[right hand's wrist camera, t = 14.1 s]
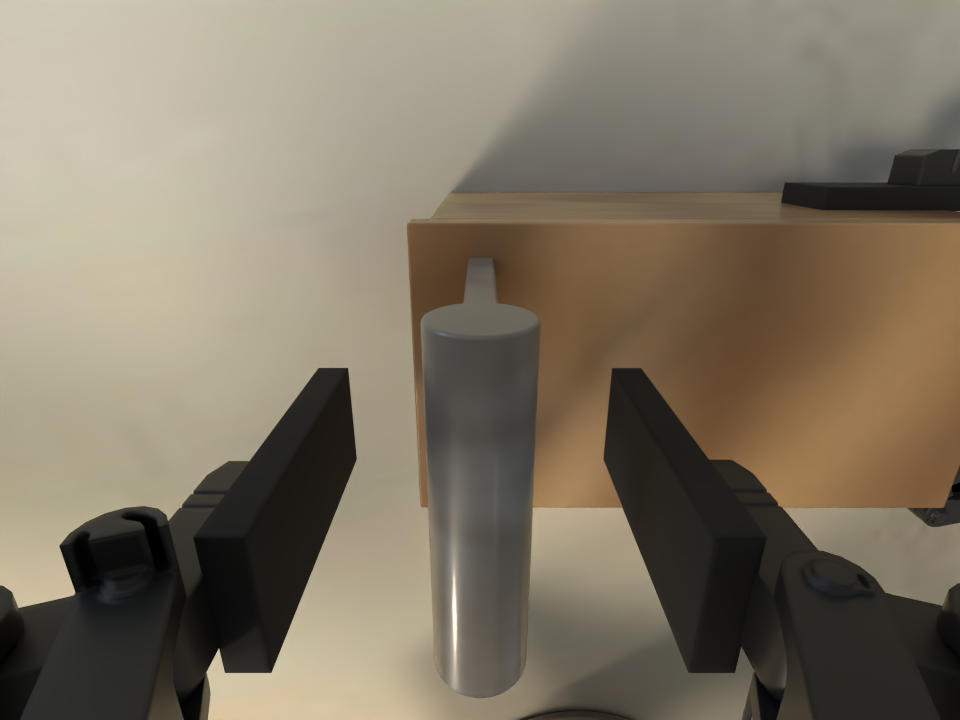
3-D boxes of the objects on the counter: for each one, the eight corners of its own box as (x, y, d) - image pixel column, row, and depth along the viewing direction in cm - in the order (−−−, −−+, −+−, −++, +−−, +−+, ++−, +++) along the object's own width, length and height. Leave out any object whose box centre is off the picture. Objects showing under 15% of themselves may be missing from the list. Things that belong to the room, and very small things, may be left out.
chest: (453, 373, 29) (438, 489, 19) (449, 192, 26) (429, 218, 16) (769, 373, 29) (920, 490, 19) (808, 192, 26) (1015, 218, 16)
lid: (423, 490, 19) (383, 725, 11) (411, 219, 16) (341, 286, 8) (921, 490, 19) (1227, 726, 11) (1016, 219, 16) (1548, 287, 8)
